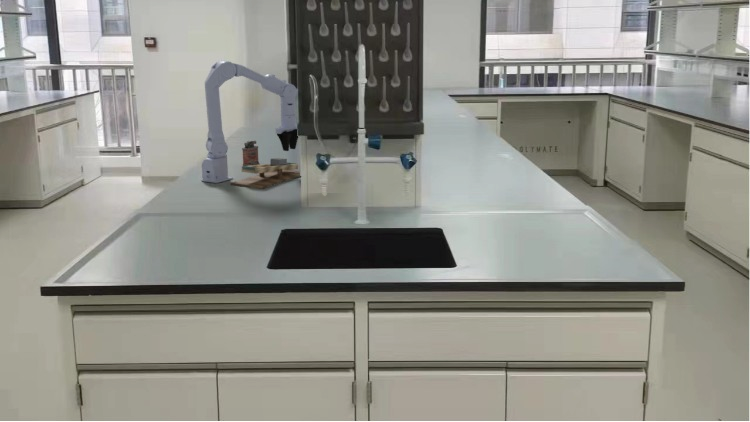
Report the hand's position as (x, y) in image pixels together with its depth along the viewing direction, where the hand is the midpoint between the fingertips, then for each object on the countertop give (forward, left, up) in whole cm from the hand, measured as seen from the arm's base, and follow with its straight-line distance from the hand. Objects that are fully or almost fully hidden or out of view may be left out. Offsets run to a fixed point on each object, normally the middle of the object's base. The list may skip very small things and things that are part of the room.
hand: (289, 149), depth 280 cm
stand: (-13, 0, -9) cm, 16 cm away
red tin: (+7, +25, -10) cm, 28 cm away
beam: (-13, 0, -5) cm, 14 cm away
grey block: (-8, 0, -5) cm, 9 cm away
